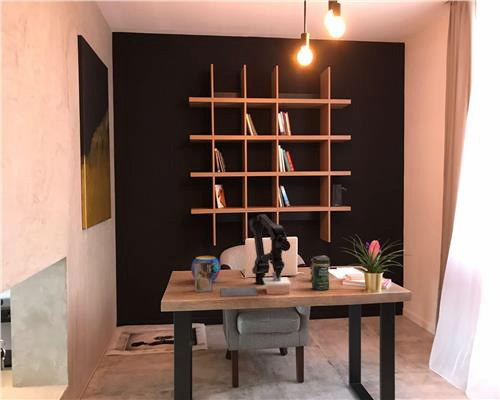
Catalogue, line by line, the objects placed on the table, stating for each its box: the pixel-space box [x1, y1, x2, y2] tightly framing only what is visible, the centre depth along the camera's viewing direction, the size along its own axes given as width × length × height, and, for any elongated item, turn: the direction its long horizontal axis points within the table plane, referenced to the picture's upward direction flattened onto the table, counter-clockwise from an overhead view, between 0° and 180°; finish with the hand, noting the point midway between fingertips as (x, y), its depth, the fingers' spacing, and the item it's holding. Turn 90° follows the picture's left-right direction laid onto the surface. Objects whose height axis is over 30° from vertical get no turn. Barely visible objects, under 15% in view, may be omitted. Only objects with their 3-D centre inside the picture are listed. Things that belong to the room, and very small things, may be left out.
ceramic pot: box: [191, 255, 221, 282], centre depth 257 cm, size 18×18×15 cm
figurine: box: [309, 255, 330, 280], centre depth 259 cm, size 9×12×15 cm
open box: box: [264, 285, 290, 295], centre depth 235 cm, size 12×12×5 cm
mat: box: [220, 286, 259, 297], centre depth 233 cm, size 17×20×1 cm
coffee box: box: [194, 261, 213, 293], centre depth 237 cm, size 9×6×16 cm
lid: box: [263, 271, 292, 287], centre depth 234 cm, size 14×14×6 cm
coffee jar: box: [311, 255, 331, 291], centre depth 239 cm, size 10×8×19 cm
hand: (276, 276), depth 234 cm, fingers open, 9 cm apart
